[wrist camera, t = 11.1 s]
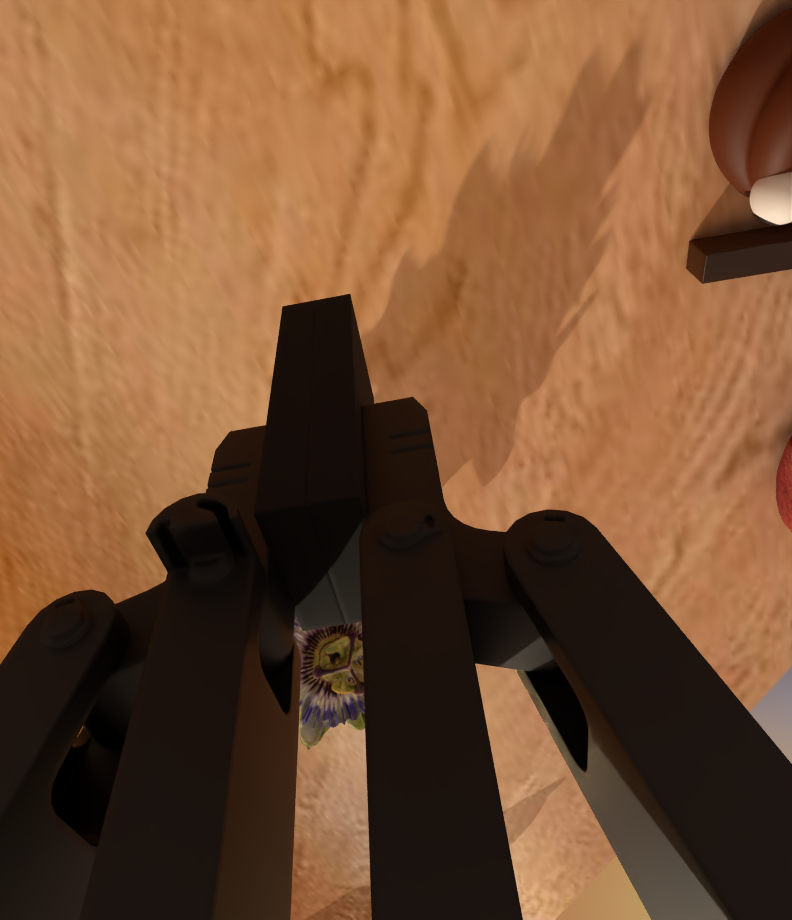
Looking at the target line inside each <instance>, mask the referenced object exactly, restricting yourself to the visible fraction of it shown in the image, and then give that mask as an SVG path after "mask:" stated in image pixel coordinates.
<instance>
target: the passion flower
mask: <svg viewBox="0 0 792 920" xmlns="http://www.w3.org/2000/svg"><path fill="white" fill-rule="evenodd" d="M294 638H295V641H296V643H297V645H298V648H299V651H300V656H301V682H300V705H299V707H300V708H301V716H300V722H299V724H300V725H299V728H300V729H299V731H300V737H301V742H302V743H303V744H304V745H305V746H307V749H310V748H311V747H312V746H314V745H316V744H317V743H318V742H319V741H320V740H321V738H322V736H323V735H324V733H325V732H326V731H327V730H328V729H329V728H330V727H336V726H338V724H339V723H343V724H344V725H345V722H346V721H347V723H348V724H349V725H350V726H352V727H353V728H354V729H357V730H363V729H364V728H365V704H364V675H363V646H362V622H357V623H350V624H344V625H338V626H332V627H326V628H320V629H314V630H308V631H302V628H301V626H300V624H299V621H298V619H297V617H296V614H295V621H294Z"/></svg>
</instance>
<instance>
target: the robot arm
mask: <svg viewBox="0 0 792 920" xmlns="http://www.w3.org/2000/svg"><path fill="white" fill-rule="evenodd" d="M211 471H212V473H210V476H209V481H208V489H206V493H199V494H196V495H192V496H189V497H186V498H182V499H180V500H179V501H177V502H175V503H173V504H171V505H170V506H168V507H166V508H165V509H164V510H163V511H162V512H161V513H160V514H158V515H157V516H156V517H155V518H154V519H153V520H152V522H151V524H150V526H149V527H148V529H147V531H146V535H147V537H148V539H149V540H150V542H151V544H152V546H153V547H154V549H155V551H156V552H157V554H158V556H159V558H160V559H161V561H162V563H163V565H164V566H165V568H166V570H167V572H168V574H167V577H166V581H164V582H163V583H161V584H159V585H157V586H155V587H153V588H152V589H150V590H147V591H145V592H143V593H140V594H138V595H136V596H133V597H131V598H129V599H126V600H124V601H122V602H119V603H117V604H114V602H113V601H112V600H111V599H110V598H109V597H108V596H107V595H106V594H105V593H104V592H99V591H95V590H84V591H77V592H73V593H71V594H68V595H66V596H64V597H61V598H59V599H57V600H55V601H54V602H52V603H51V604H49V605H48V606H47V607H45V608H44V609H42V610H41V611H40V612H39V613H38V614H37V615H36V616H35V617H34V619H33V620H32V621H31V622H30V623H29V624H28V625H27V627H26V628H25V630H24V631H23V632H22V634H21V635H20V637H19V638H18V640H17V641H16V643H15V644H14V645H13V647H12V648H11V650H10V651H9V653H8V654H7V656H6V657H5V658H4V660H3V661H2V663H1V664H0V920H290V914H291V891H292V868H293V844H294V821H295V798H296V775H297V751H298V728H299V705H300V682H301V656H300V651H299V648H298V645H297V643H296V641H295V638H294V621H295V614H296V617H297V619H298V621H299V624H300V626H301V628H302V631H308V630H314V629H320V628H326V627H332V626H338V625H344V624H350V623H357V622H362V646H363V675H364V704H365V733H366V762H367V791H368V820H369V849H370V878H371V907H372V920H523V918H522V913H521V907H520V902H519V897H518V891H517V886H516V881H515V875H514V870H513V864H512V859H511V854H510V848H509V843H508V838H507V832H506V827H505V822H504V816H503V811H502V805H501V800H500V795H499V789H498V784H497V779H496V773H495V768H494V762H493V757H492V752H491V746H490V741H489V736H488V730H487V725H486V720H485V714H484V709H483V703H482V698H481V693H480V687H479V682H478V677H477V671H476V666H475V663H477V664H483V665H490V666H497V667H504V668H510V669H516V670H517V673H518V675H519V676H520V678H521V680H522V682H523V684H524V686H525V687H526V689H527V691H528V693H529V695H530V697H531V699H532V700H533V702H534V704H535V706H536V708H537V710H538V711H539V713H540V715H541V717H542V719H543V721H544V722H545V724H546V726H547V728H548V730H549V732H550V734H551V735H552V737H553V739H554V741H555V743H556V745H557V746H558V748H559V750H560V752H561V754H562V756H563V758H564V759H565V761H566V763H567V765H568V767H569V769H570V770H571V772H572V774H573V776H574V778H575V780H576V781H577V783H578V785H579V787H580V789H581V791H582V793H583V794H584V796H585V798H586V800H587V802H588V804H589V805H590V807H591V809H592V811H593V813H594V815H595V816H596V818H597V820H598V822H599V824H600V826H601V828H602V829H603V831H604V833H605V835H606V837H607V839H608V840H609V842H610V844H611V846H612V848H613V850H614V851H615V853H616V855H617V857H618V859H619V861H620V862H621V864H622V866H623V868H624V870H625V872H626V874H627V875H628V877H629V879H630V881H631V883H632V885H633V886H634V888H635V890H636V892H637V894H638V896H639V898H640V899H641V901H642V903H643V905H644V907H645V909H646V910H647V912H648V914H649V916H650V918H651V920H792V764H791V763H790V761H789V760H788V759H787V758H786V757H785V755H784V754H783V753H782V752H781V750H780V749H779V748H778V747H777V746H776V744H775V743H774V742H773V741H772V740H771V738H770V737H769V736H768V735H767V733H766V732H765V731H764V730H763V729H762V727H761V726H760V725H759V724H758V723H757V721H756V720H755V719H754V718H753V717H752V715H751V714H750V713H749V712H748V710H747V709H746V708H745V707H744V706H743V704H742V703H741V702H740V701H739V700H738V698H737V697H736V696H735V695H734V693H733V692H732V691H731V690H730V689H729V687H728V686H727V685H726V684H725V683H724V681H723V680H722V679H721V678H720V677H719V675H718V674H717V673H716V672H715V670H714V669H713V668H712V667H711V666H710V664H709V663H708V662H707V661H706V660H705V658H704V657H703V656H702V655H701V654H700V652H699V651H698V650H697V649H696V647H695V646H694V645H693V644H692V643H691V641H690V640H689V639H688V638H687V637H686V635H685V634H684V633H683V632H682V631H681V629H680V628H679V627H678V626H677V624H676V623H675V622H674V621H673V620H672V618H671V617H670V616H669V615H668V614H667V612H666V611H665V610H664V609H663V607H662V606H661V605H660V604H659V603H658V601H657V600H656V599H655V598H654V597H653V595H652V594H651V593H650V592H649V591H648V589H647V588H646V587H645V586H644V584H643V583H642V582H641V581H640V580H639V578H638V577H637V576H636V575H635V574H634V572H633V571H632V570H631V569H630V568H629V566H628V565H627V564H626V563H625V561H624V560H623V559H622V558H621V557H620V555H619V554H618V553H617V552H616V551H615V549H614V548H613V547H612V546H611V544H610V543H609V542H608V541H607V540H606V538H605V537H604V536H603V535H602V534H601V532H600V531H599V530H598V529H597V528H596V527H595V526H594V525H593V524H591V523H590V522H589V521H588V520H587V519H585V518H584V517H582V516H579V515H576V514H574V513H571V512H568V511H561V510H543V511H538V512H533V513H529V514H527V515H526V516H524V517H522V518H520V519H518V520H516V521H515V522H514V523H513V525H512V526H511V527H510V528H509V529H508V531H507V532H499V531H488V530H483V529H477V528H473V527H471V526H468V525H466V524H463V523H462V522H460V521H459V520H457V519H456V518H455V517H453V515H452V514H451V513H450V512H449V511H448V509H447V507H446V504H445V502H444V498H443V493H442V488H441V482H440V477H439V472H438V466H437V461H436V456H435V451H434V445H433V440H432V435H431V430H430V424H429V419H428V414H427V410H426V409H425V408H424V407H423V406H422V405H421V404H420V403H419V402H418V401H417V400H416V399H415V398H414V397H410V398H404V399H399V400H393V401H387V402H382V403H376V404H374V397H373V393H372V388H371V384H370V379H369V375H368V370H367V366H366V362H365V357H364V353H363V348H362V344H361V339H360V335H359V331H358V326H357V322H356V317H355V313H354V308H353V304H352V300H351V295H350V294H347V295H341V296H336V297H331V298H325V299H320V300H315V301H309V302H304V303H299V304H293V305H288V306H283V307H282V314H281V322H280V329H279V336H278V343H277V350H276V358H275V365H274V372H273V379H272V386H271V394H270V401H269V408H268V415H267V422H266V425H264V426H258V427H253V428H247V429H242V430H236V431H231V432H229V433H228V435H227V436H226V437H225V439H224V440H223V441H222V443H221V444H220V445H219V446H218V448H217V449H216V450H215V455H214V459H213V463H212V468H211ZM82 727H83V729H82V731H81V733H80V734H79V732H80V730H81V728H82ZM78 734H79V736H78V737H77V735H78ZM76 737H77V738H76Z"/></svg>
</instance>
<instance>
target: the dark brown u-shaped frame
mask: <svg viewBox="0 0 792 920" xmlns="http://www.w3.org/2000/svg"><path fill="white" fill-rule="evenodd" d="M686 269H687V270H688V271H689V272H690V273H691V274H693V275H694V276H695V277H696V278H697V279H698V280H699V281H700V282H701V283H702V284H704V283H710V282H716V281H722V280H728V279H734V278H740V277H746V276H752V275H758V274H764V273H770V272H777V271H783V270H789V269H792V224H788V225H782V226H776V227H770V228H764V229H758V230H752V231H746V232H740V233H734V234H728V235H722V236H716V237H710V238H704V239H698V240H692V241H690V242H689V250H688V258H687V266H686Z"/></svg>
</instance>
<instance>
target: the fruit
mask: <svg viewBox="0 0 792 920" xmlns="http://www.w3.org/2000/svg"><path fill="white" fill-rule="evenodd" d="M776 499H777V505H778V510H779V513H780V515H781V518H782V521H783V522H784V524H785V525H786V526H787V527H788V528H789V529H790V531H791V532H792V437H791V438H790V440H789V441H788V443H787V446H786V448H785V450H784V453H783V456H782V458H781V460H780V464H779V467H778V470H777V476H776Z"/></svg>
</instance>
